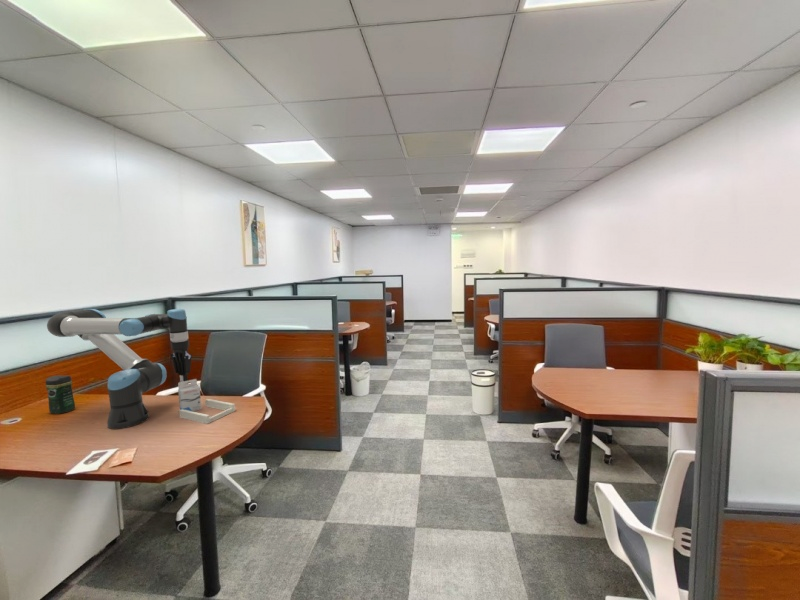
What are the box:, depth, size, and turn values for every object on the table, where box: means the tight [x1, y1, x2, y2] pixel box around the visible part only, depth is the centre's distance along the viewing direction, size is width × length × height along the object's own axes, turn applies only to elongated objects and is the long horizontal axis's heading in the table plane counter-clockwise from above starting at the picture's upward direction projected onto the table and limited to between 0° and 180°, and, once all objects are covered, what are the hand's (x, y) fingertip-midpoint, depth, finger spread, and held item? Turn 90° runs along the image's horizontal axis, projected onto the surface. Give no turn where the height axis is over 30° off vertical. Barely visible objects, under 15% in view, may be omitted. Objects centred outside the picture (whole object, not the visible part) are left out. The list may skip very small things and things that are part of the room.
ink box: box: [177, 378, 202, 412], centre depth 168 cm, size 8×5×15 cm, turn 134°
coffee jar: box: [45, 375, 76, 415], centre depth 173 cm, size 10×8×19 cm
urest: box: [178, 398, 236, 425], centre depth 164 cm, size 19×15×4 cm
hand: (184, 387), depth 170 cm, fingers closed
